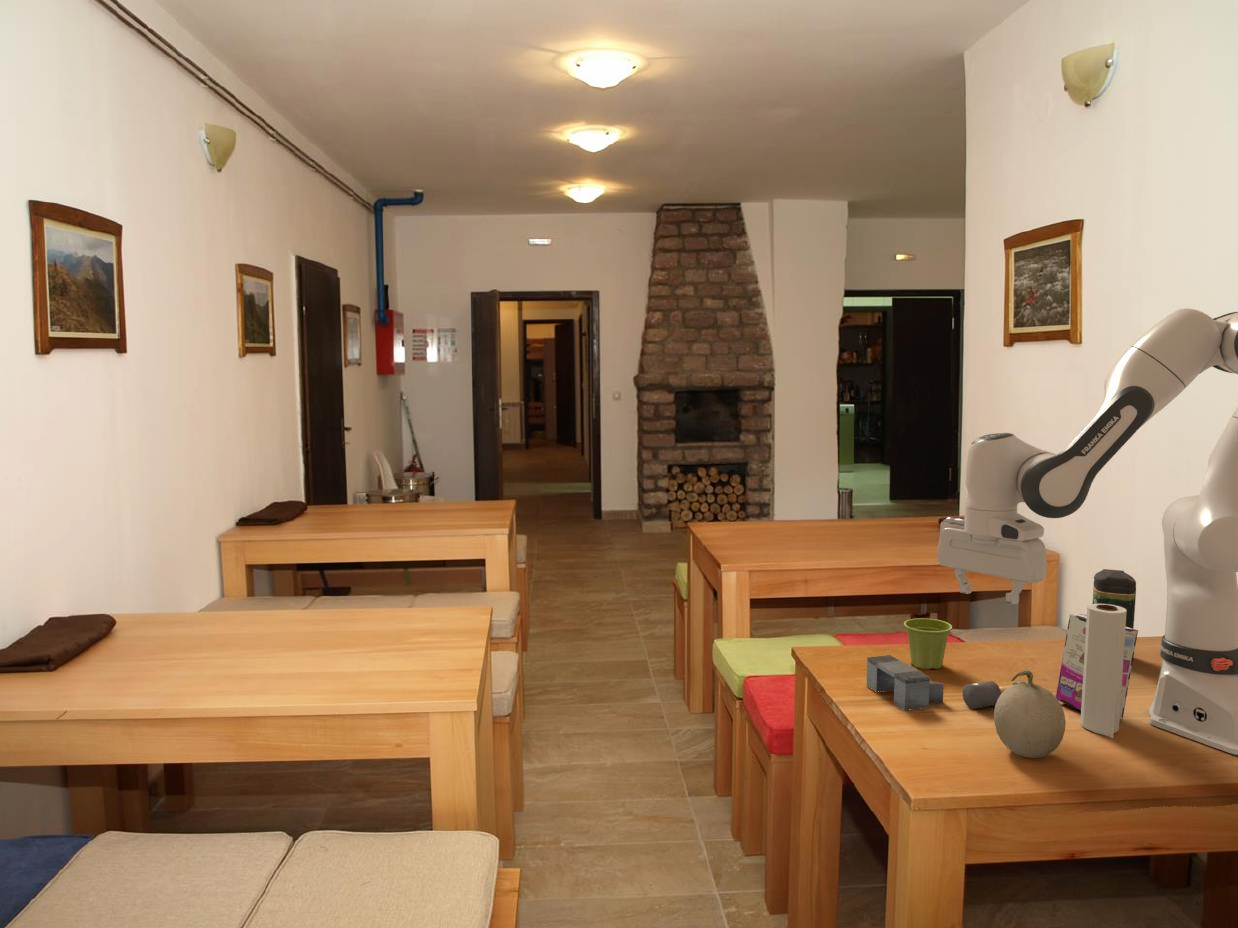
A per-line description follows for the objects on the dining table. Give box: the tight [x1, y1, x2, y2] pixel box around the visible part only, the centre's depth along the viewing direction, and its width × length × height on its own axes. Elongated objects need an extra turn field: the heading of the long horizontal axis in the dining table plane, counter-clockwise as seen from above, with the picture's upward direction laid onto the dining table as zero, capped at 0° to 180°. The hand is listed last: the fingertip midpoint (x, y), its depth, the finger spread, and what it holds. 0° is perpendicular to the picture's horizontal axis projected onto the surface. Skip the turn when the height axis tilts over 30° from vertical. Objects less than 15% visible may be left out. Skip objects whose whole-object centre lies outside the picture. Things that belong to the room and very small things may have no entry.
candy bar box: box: [1055, 613, 1139, 721], centre depth 172 cm, size 11×5×16 cm, turn 20°
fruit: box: [993, 670, 1066, 759], centre depth 154 cm, size 10×12×15 cm
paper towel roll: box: [1080, 603, 1127, 739], centre depth 164 cm, size 7×6×21 cm
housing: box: [866, 654, 945, 711], centre depth 180 cm, size 13×9×6 cm
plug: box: [962, 680, 1028, 710], centre depth 176 cm, size 12×4×4 cm, turn 110°
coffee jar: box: [1091, 568, 1137, 629], centre depth 201 cm, size 10×8×19 cm
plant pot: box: [903, 617, 953, 670], centre depth 197 cm, size 9×9×9 cm
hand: (988, 597), depth 174 cm, fingers open, 8 cm apart
